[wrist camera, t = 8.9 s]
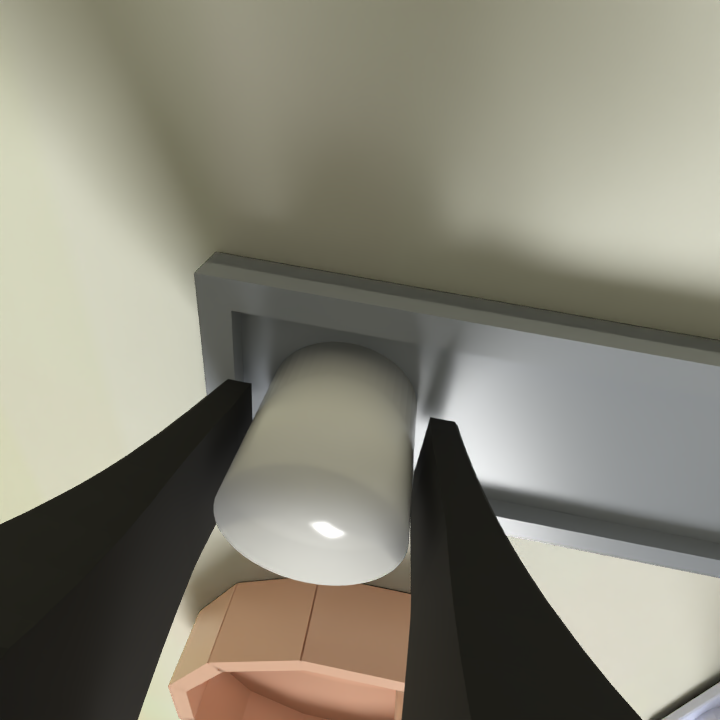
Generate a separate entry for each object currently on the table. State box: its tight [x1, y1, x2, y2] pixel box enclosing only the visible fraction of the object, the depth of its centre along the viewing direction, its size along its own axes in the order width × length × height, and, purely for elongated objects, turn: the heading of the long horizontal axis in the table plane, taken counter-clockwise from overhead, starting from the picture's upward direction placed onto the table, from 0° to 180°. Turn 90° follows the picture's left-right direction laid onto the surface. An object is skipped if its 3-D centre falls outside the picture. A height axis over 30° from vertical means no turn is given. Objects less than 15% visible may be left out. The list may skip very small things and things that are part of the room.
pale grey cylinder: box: [214, 342, 417, 586], centre depth 11 cm, size 4×4×4 cm
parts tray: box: [194, 252, 720, 578], centre depth 12 cm, size 17×7×1 cm, turn 83°
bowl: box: [168, 578, 411, 720], centre depth 22 cm, size 16×16×3 cm
